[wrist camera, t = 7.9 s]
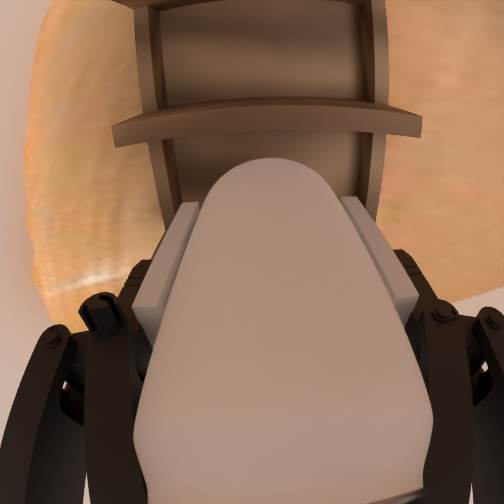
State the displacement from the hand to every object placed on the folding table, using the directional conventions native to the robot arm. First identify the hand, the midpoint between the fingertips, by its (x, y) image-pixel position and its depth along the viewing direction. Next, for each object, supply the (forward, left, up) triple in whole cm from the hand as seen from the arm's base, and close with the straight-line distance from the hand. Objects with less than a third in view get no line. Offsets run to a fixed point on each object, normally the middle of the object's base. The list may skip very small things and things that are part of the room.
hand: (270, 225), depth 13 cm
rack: (-5, 0, -10) cm, 11 cm away
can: (0, 0, -1) cm, 1 cm away
